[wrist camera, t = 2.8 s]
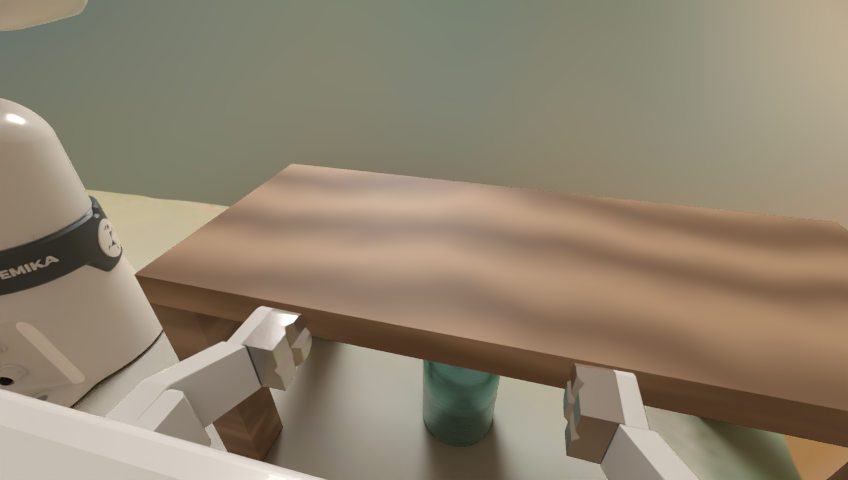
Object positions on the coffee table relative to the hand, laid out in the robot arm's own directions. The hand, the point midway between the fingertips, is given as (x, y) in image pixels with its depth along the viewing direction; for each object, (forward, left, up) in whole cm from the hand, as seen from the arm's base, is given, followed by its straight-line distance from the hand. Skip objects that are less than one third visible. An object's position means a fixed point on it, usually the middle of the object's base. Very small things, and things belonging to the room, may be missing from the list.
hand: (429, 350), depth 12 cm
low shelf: (+9, +8, -22) cm, 25 cm away
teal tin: (+7, +10, -22) cm, 25 cm away
